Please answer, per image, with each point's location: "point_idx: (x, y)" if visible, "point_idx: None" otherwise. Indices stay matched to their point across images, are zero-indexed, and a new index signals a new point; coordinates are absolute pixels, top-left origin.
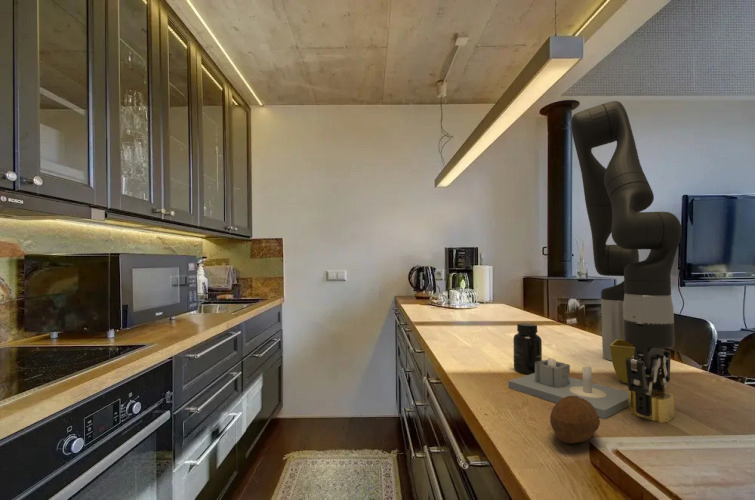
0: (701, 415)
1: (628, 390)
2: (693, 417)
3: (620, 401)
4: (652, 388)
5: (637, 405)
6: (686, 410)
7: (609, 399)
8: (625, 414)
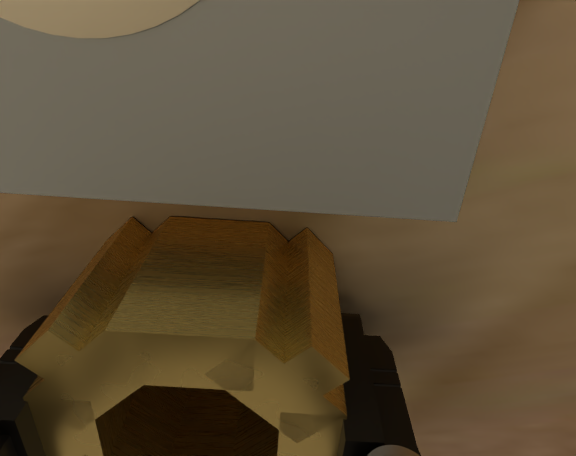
0: (434, 449)
1: (49, 334)
2: None
3: (106, 188)
4: (338, 437)
5: (7, 353)
6: (470, 403)
7: (57, 100)
8: (67, 214)
